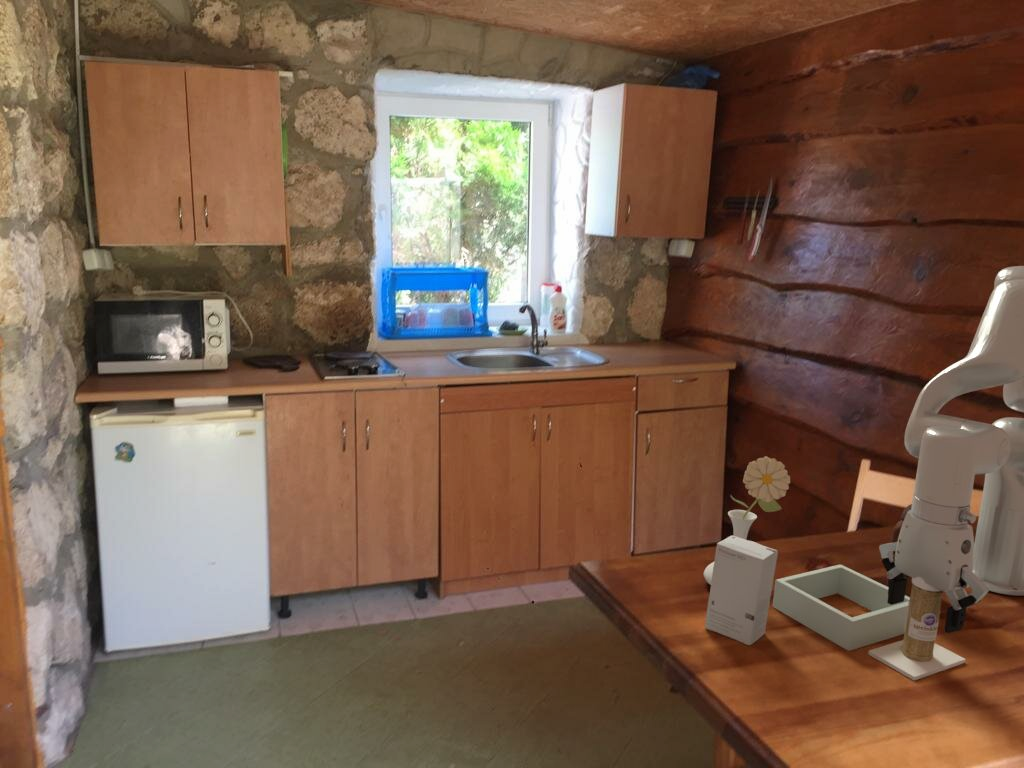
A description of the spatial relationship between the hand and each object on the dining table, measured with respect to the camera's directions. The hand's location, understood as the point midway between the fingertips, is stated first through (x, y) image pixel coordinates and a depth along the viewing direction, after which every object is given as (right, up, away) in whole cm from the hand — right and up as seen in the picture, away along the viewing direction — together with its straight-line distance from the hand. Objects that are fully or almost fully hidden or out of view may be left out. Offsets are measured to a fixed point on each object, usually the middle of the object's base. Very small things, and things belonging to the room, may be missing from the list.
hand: (923, 616), depth 127 cm
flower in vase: (-22, -2, +23) cm, 32 cm away
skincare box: (-26, -5, +7) cm, 28 cm away
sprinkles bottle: (0, -6, +1) cm, 7 cm away
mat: (0, -7, +1) cm, 7 cm away
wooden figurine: (+9, -3, +22) cm, 24 cm away
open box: (-7, -4, +13) cm, 16 cm away
